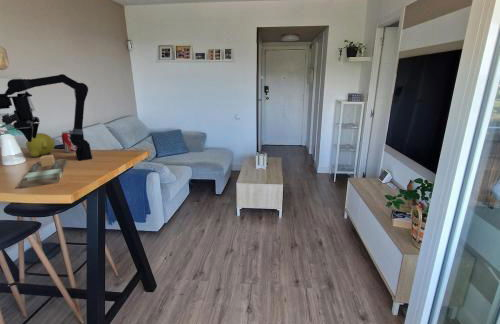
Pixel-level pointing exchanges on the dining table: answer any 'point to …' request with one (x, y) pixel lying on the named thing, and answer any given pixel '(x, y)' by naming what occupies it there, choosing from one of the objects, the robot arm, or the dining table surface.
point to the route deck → (44, 174)
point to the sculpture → (40, 145)
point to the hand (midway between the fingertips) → (32, 139)
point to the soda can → (68, 143)
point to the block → (47, 160)
